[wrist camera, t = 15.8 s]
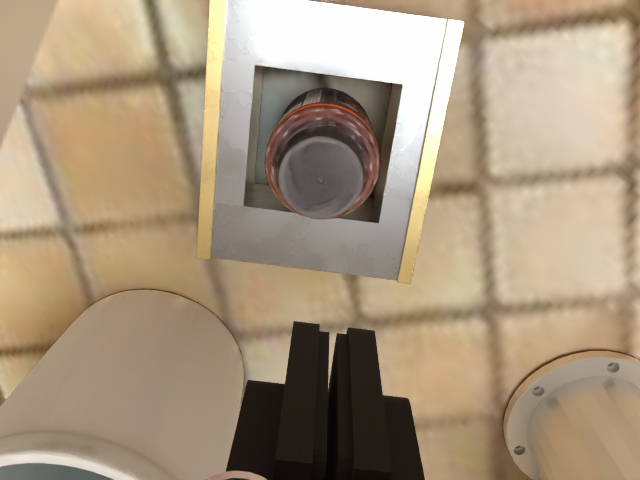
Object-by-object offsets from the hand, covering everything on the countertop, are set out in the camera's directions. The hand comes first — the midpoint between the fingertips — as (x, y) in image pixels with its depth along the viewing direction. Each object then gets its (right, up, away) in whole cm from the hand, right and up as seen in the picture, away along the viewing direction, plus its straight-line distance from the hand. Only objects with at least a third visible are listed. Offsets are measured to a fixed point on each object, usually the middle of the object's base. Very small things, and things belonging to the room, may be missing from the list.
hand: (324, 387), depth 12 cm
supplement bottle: (0, +10, +25) cm, 27 cm away
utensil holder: (-12, -7, +32) cm, 35 cm away
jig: (0, +10, +25) cm, 27 cm away
